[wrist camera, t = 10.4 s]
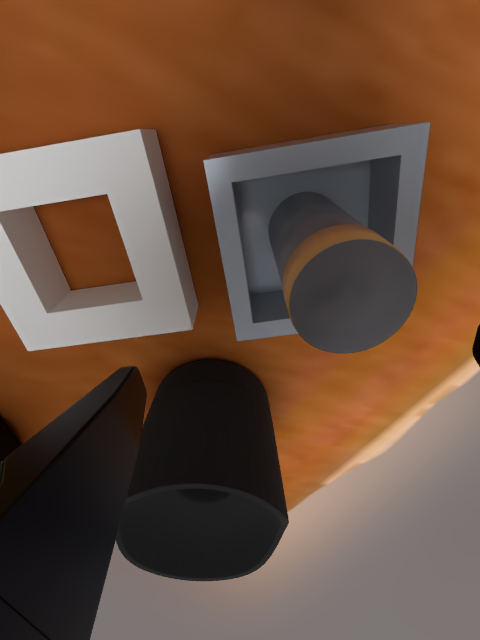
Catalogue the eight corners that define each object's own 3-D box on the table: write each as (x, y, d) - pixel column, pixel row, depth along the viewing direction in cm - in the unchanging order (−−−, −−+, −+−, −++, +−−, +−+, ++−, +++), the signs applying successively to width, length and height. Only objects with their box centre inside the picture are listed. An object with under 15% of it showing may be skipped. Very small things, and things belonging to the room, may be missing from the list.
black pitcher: (126, 392, 25) (66, 530, 16) (221, 329, 22) (210, 455, 14) (205, 455, 29) (191, 595, 20) (295, 409, 26) (324, 547, 17)
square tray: (237, 306, 21) (237, 341, 18) (210, 154, 17) (203, 160, 13) (378, 288, 21) (406, 319, 17) (389, 123, 16) (430, 121, 13)
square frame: (52, 325, 22) (28, 351, 19) (-31, 162, 17) (-80, 168, 14) (198, 305, 21) (192, 329, 19) (155, 129, 16) (139, 128, 14)
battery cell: (271, 268, 19) (293, 361, 12) (263, 197, 17) (283, 250, 10) (340, 259, 19) (411, 346, 11) (341, 185, 17) (427, 229, 9)
